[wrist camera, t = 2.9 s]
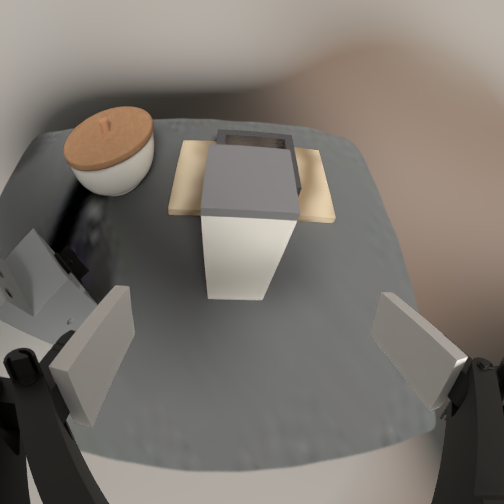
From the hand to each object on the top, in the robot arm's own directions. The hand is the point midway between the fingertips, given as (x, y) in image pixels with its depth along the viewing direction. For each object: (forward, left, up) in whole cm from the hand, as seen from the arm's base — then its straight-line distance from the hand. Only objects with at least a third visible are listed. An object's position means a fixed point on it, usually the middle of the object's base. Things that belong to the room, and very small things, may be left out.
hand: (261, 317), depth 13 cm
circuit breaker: (-16, -12, -16) cm, 26 cm away
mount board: (-14, +20, -16) cm, 29 cm away
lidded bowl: (-29, +7, -16) cm, 34 cm away
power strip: (-6, +7, -16) cm, 18 cm away
